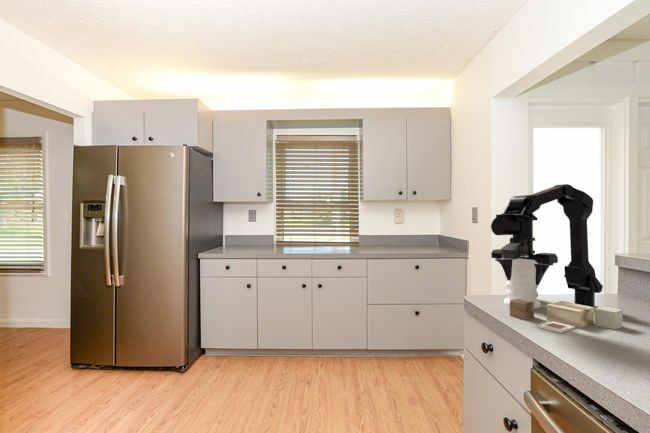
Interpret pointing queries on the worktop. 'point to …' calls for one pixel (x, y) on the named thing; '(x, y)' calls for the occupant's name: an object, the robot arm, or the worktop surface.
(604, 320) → the sage cube
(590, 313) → the birch plinth
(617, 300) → the worktop surface
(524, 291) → the decorative container
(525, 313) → the walnut cube
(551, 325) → the card
